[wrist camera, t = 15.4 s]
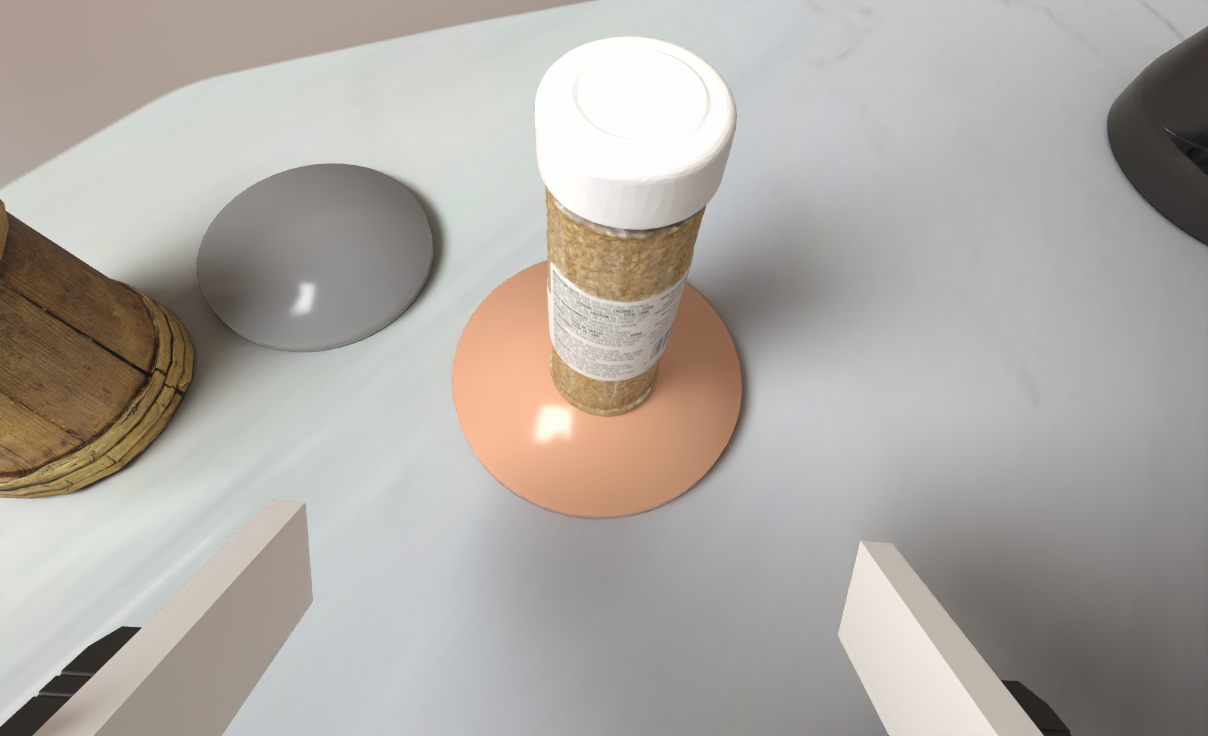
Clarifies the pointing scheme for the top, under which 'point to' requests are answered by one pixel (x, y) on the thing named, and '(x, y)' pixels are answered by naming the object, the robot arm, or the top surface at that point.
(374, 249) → the slate coaster
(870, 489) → the top surface
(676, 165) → the sprinkles bottle
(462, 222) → the top surface
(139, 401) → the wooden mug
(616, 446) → the terracotta coaster
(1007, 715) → the robot arm
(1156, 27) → the top surface
